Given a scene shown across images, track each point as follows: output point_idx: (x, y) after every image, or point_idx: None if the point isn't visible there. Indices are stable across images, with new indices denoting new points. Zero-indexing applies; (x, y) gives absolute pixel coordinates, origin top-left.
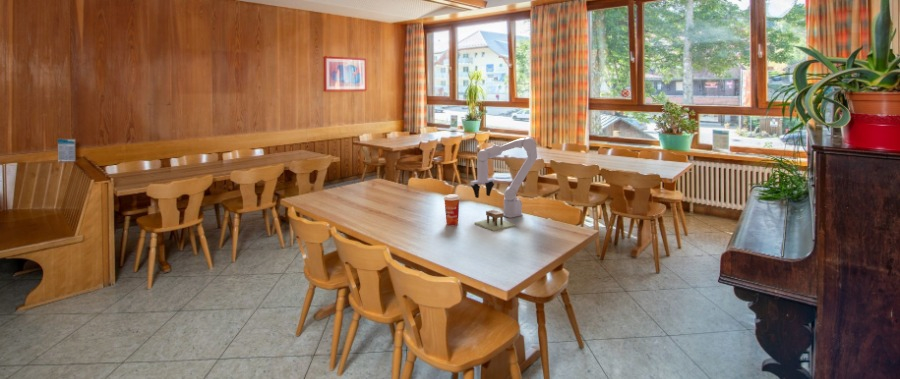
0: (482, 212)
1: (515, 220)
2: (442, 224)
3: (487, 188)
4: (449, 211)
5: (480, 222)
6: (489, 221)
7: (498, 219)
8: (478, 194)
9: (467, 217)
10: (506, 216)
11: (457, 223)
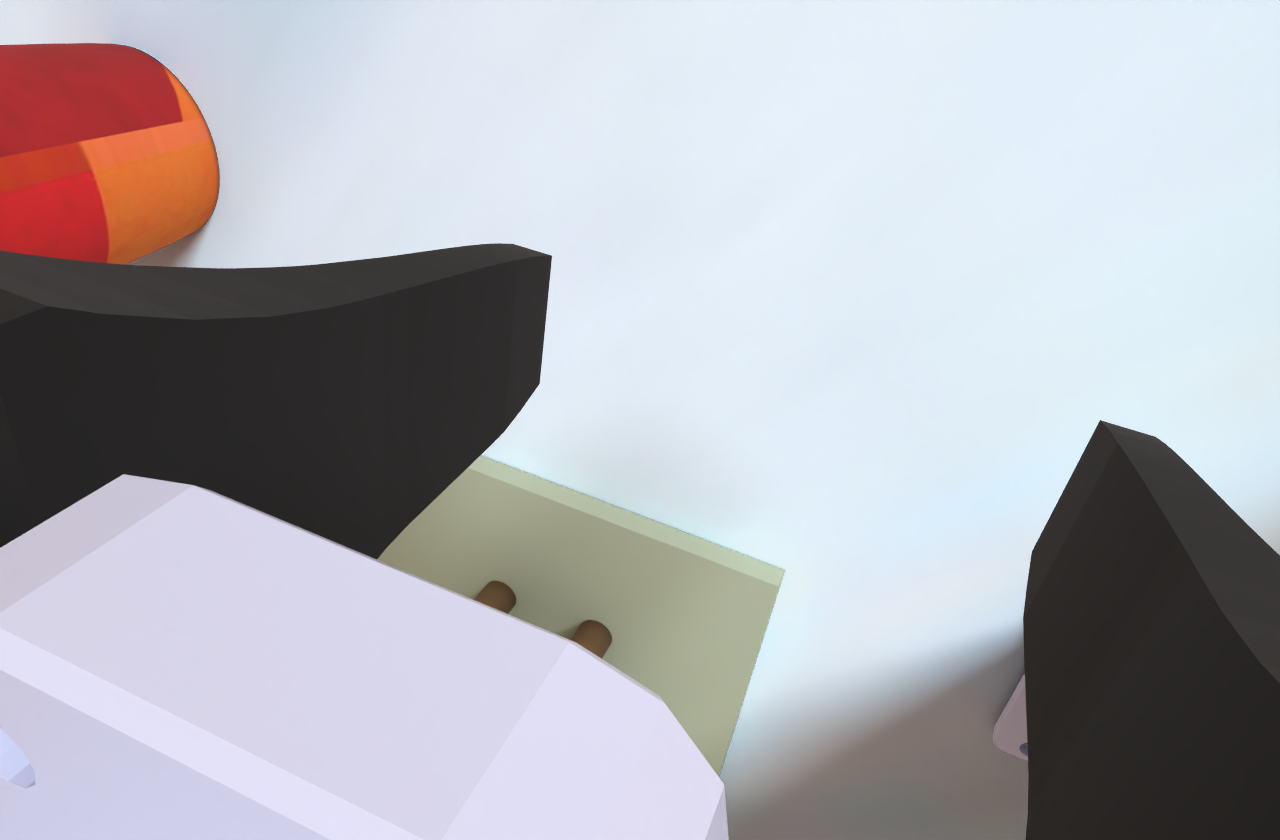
0: (1124, 19)
1: (927, 826)
2: (24, 33)
3: (1137, 705)
4: None
5: (432, 504)
6: (555, 586)
7: (729, 654)
8: (443, 466)
9: (531, 57)
10: (1022, 682)
11: (178, 239)
